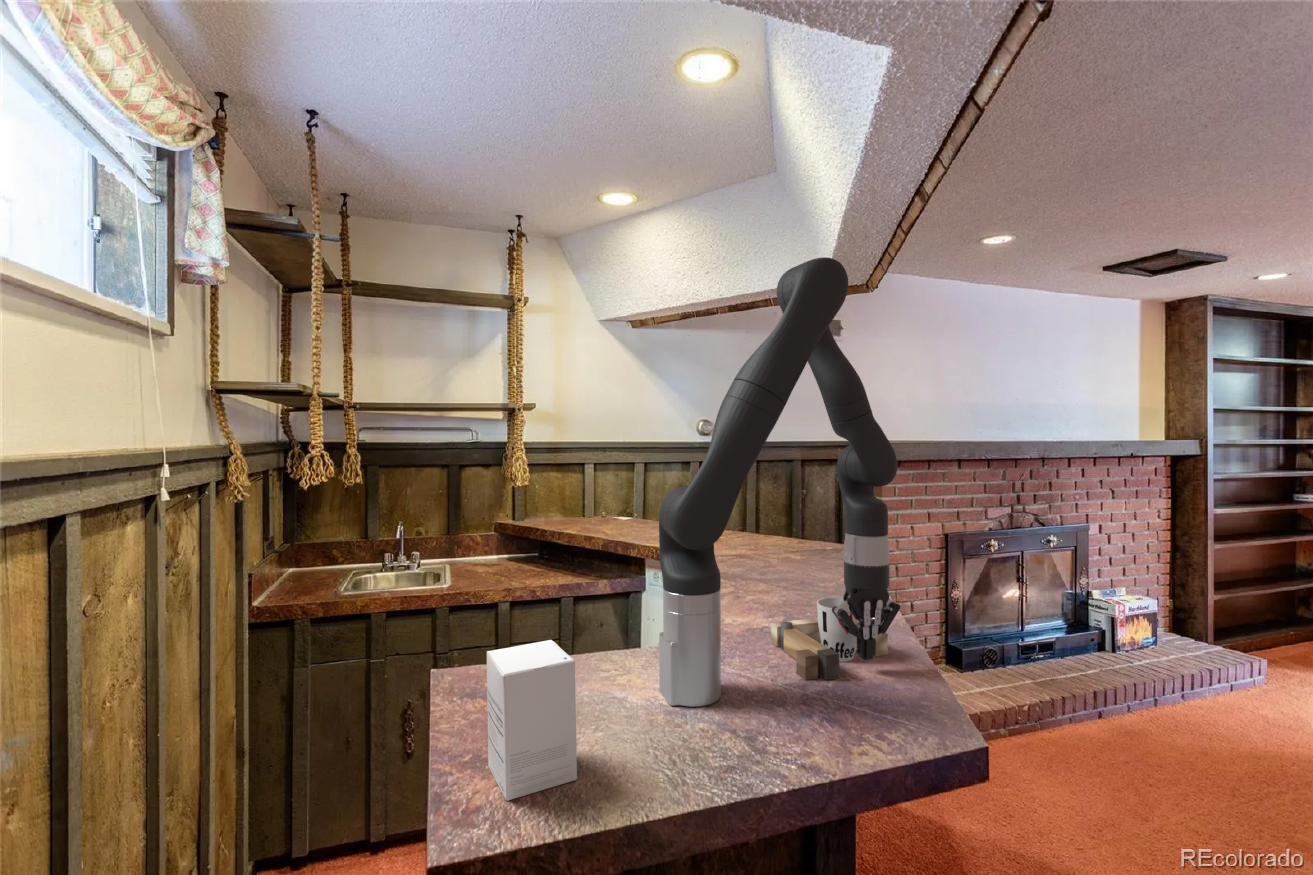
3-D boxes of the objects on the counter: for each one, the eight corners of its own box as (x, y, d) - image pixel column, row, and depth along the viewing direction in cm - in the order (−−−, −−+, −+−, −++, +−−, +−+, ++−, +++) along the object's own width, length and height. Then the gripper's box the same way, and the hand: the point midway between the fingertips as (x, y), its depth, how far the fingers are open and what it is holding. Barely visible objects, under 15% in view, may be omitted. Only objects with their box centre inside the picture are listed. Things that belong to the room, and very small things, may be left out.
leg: (825, 679, 105) (825, 651, 105) (777, 646, 121) (777, 622, 121) (839, 677, 106) (839, 649, 106) (789, 645, 122) (789, 620, 122)
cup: (813, 660, 114) (813, 606, 114) (821, 646, 122) (821, 595, 122) (859, 667, 111) (859, 612, 111) (864, 652, 118) (864, 600, 118)
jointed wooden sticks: (805, 680, 106) (805, 656, 106) (757, 644, 123) (757, 624, 123) (907, 665, 112) (907, 643, 112) (848, 633, 129) (848, 614, 129)
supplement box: (554, 748, 84) (553, 637, 84) (578, 781, 76) (577, 659, 76) (486, 765, 80) (485, 649, 79) (504, 803, 72) (503, 674, 71)
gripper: (846, 567, 103) (846, 671, 103) (912, 561, 107) (912, 661, 107) (821, 557, 110) (821, 655, 110) (884, 552, 114) (883, 646, 114)
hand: (866, 658), depth 109 cm, fingers closed
